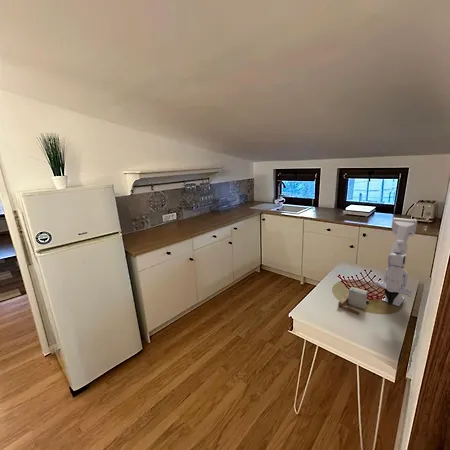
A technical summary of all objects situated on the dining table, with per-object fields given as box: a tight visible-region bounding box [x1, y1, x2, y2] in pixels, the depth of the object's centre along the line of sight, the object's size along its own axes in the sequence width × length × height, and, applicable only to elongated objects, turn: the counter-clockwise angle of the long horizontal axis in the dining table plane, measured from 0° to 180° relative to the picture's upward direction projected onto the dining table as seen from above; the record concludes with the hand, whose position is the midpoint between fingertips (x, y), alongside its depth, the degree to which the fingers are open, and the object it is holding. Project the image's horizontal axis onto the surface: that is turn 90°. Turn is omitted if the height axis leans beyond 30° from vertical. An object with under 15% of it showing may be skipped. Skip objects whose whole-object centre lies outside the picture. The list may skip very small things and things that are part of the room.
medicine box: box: [347, 286, 368, 310], centre depth 132 cm, size 8×4×9 cm, turn 49°
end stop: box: [337, 291, 370, 316], centre depth 133 cm, size 14×10×3 cm
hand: (390, 303), depth 119 cm, fingers closed
